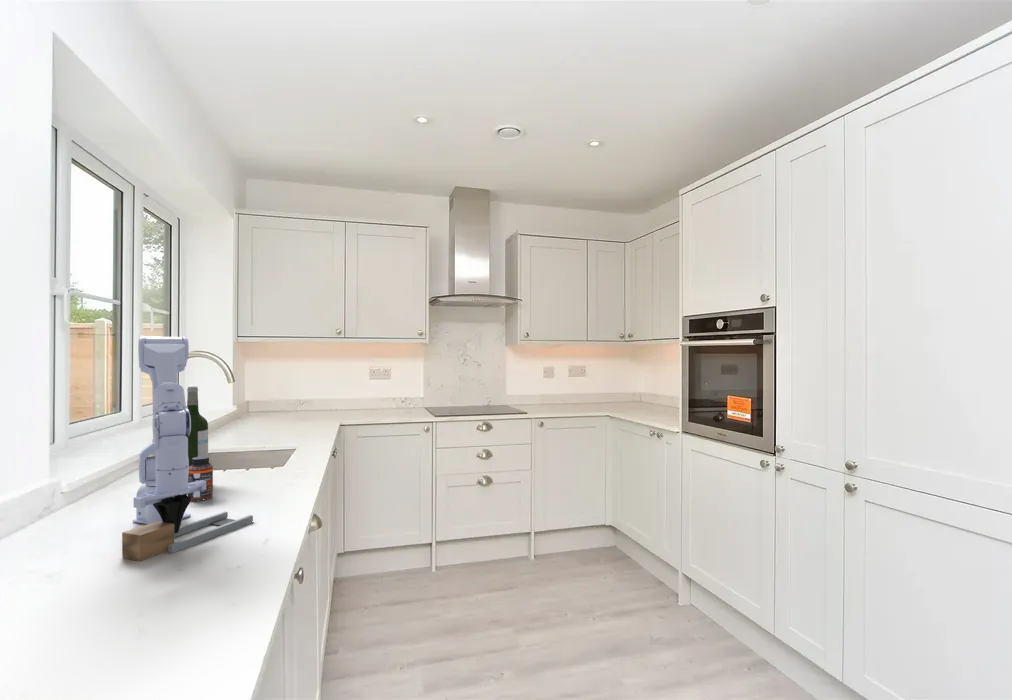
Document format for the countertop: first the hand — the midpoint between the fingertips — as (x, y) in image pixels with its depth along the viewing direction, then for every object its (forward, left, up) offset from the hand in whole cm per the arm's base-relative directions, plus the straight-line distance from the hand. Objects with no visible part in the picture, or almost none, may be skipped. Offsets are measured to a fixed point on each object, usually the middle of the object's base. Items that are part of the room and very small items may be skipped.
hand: (172, 532), depth 107 cm
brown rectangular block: (0, -5, -2) cm, 5 cm away
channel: (0, +7, -2) cm, 7 cm away
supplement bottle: (-25, +27, -3) cm, 37 cm away
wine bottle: (-38, +35, -3) cm, 51 cm away
